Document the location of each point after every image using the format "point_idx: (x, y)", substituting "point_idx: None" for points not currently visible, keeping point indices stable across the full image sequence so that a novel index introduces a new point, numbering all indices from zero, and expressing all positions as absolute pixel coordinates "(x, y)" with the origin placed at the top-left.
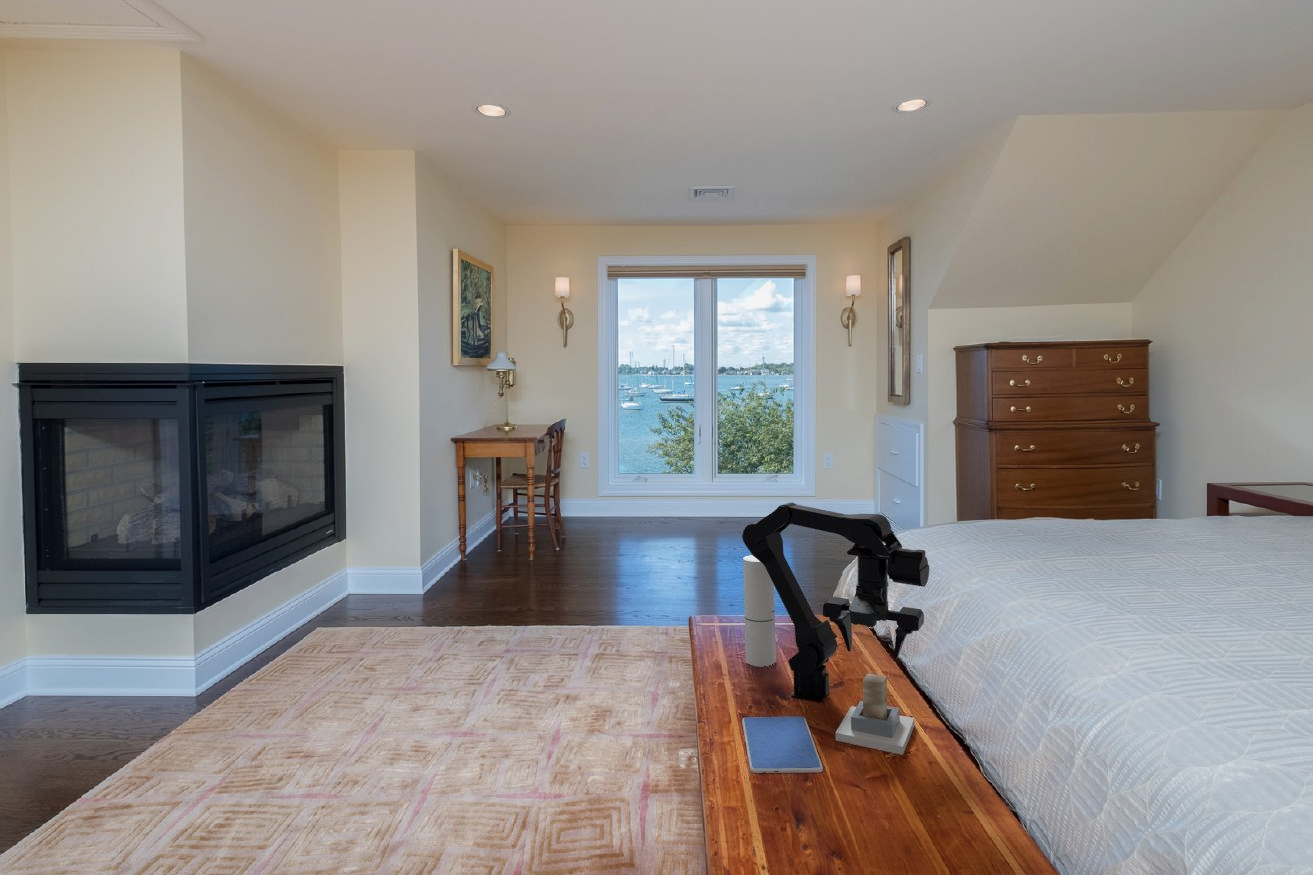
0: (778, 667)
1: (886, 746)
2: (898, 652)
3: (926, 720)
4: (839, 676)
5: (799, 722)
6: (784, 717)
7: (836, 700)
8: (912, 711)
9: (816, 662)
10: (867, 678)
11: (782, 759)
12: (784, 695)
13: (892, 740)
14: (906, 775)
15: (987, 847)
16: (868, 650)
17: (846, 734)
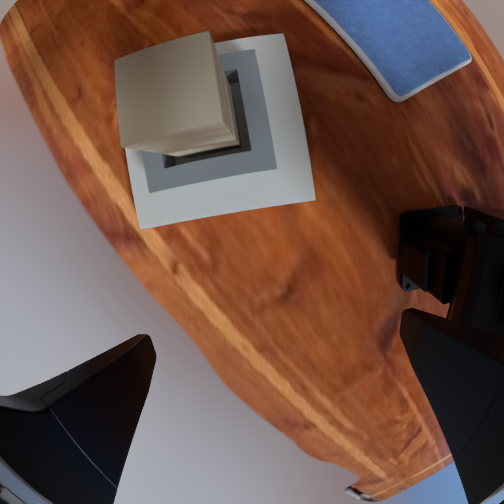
0: None
1: None
2: (105, 352)
3: (139, 269)
4: (392, 367)
5: (389, 66)
6: (425, 78)
7: (371, 250)
8: (183, 297)
9: (481, 218)
10: (195, 61)
11: None
12: None
13: None
14: (107, 27)
15: (25, 3)
16: (355, 461)
17: (254, 37)
